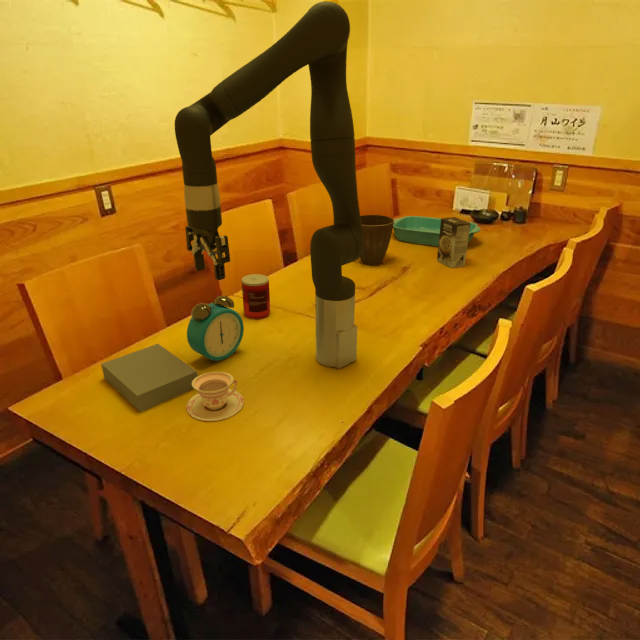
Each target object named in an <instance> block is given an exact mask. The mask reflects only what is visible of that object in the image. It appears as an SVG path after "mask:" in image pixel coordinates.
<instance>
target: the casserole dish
mask: <svg viewBox="0 0 640 640" xmlns="http://www.w3.org/2000/svg"><path fill="white" fill-rule="evenodd" d="M393 219H394V218H393ZM441 219H442V218H439V217H430V216H422V215H421V216H420V215H406V216H403V217H399V218H395V219H394V225H393V230H392V231H393V233H394V236H395V237H396V239H397V240H399V241H400V242H404V243H410V244H417V245H421V246H422V245H423V246H431V247H437V248H438V245H439V235H440V225H441ZM465 221H466V222H469V223H471V224H470V231H469V238H468V243H470V241H471V240H472V239H473V237H474V235H475V234H477V233H479V232H480V231H481V227H480V226H478V224H477V223H476V222H471V221H467V220H465Z"/></svg>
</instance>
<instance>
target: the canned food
mask: <svg viewBox="0 0 640 640" xmlns="http://www.w3.org/2000/svg"><path fill="white" fill-rule="evenodd" d="M241 293H242V303H243V304H242V305H243V314H244V316H245V317H246V318H248V319H252V320H261V319H265V318H267V317H269V316H270V314H271V296H270V294H271V293H270V280H269V276H267V275H265V274H260V273H256V274H255V273H252V274H247V275H244V276H243V277H242V278H241Z"/></svg>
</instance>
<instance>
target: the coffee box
mask: <svg viewBox="0 0 640 640" xmlns="http://www.w3.org/2000/svg"><path fill="white" fill-rule="evenodd" d="M466 221H467V220H464V219H462V218H458V217H455V216H453V217H443V218H441V225H440V235H439V245H438V247H437V257H436V261H437V262H438V263H440V264H442V265H444V266H446V267H449V268H451V269H454V268H460V267H466V259H467V254H468V253H467V251H468V243H469V242H468V238H469V231H470V224H471V223H469V222H470V221H467V222H466Z"/></svg>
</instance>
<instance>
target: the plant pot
mask: <svg viewBox="0 0 640 640" xmlns="http://www.w3.org/2000/svg"><path fill="white" fill-rule="evenodd" d="M360 217H361V224H362V231H363V241H364V244H363V251H362V254H361V256H360V257H359V259H360V261H361V263H362V264H363V265H366V266H370V267H371V266H372V267H373V266H379V265H381V264H382V263H383V261H384V258H385V256H386V254H387V251H388V248H389V245H390V241H391V238H392V234H393V231H394V230H393V225H394V218H393V217H390V216H388V215H387V216H386V215H382V214H381V215H380V214H365V215H363V214H362V215H360Z"/></svg>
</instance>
